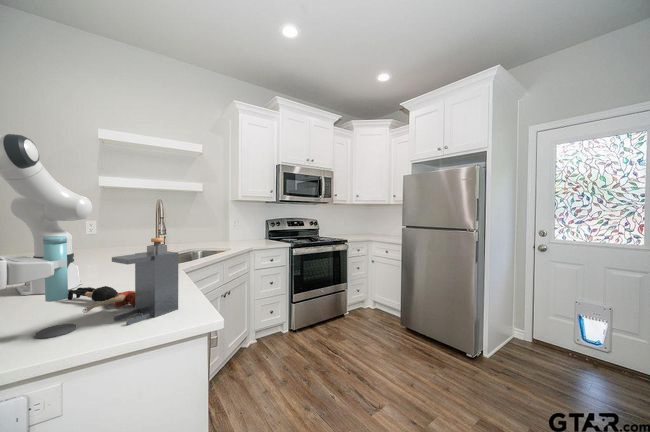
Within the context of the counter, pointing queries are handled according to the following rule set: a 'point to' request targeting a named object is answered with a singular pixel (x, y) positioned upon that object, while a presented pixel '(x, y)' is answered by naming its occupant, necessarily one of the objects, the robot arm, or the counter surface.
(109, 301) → the figurine
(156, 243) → the plunger
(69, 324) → the pad
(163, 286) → the housing
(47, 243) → the cartridge
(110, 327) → the counter surface
